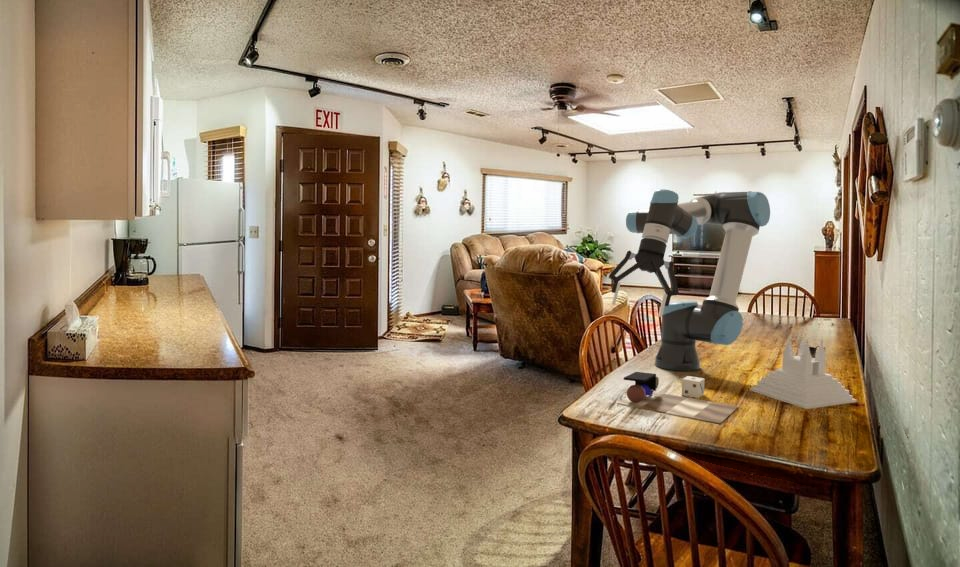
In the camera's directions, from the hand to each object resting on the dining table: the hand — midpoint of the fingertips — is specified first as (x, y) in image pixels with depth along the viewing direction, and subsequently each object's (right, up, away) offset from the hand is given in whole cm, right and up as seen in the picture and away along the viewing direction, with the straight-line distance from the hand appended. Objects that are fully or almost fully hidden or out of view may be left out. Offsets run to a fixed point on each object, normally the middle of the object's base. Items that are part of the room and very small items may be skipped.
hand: (636, 310), depth 180 cm
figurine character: (+1, -25, -2) cm, 25 cm away
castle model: (+50, -26, +4) cm, 57 cm away
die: (+18, -25, +3) cm, 31 cm away
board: (+9, -26, -8) cm, 29 cm away
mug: (+62, -24, +22) cm, 70 cm away
